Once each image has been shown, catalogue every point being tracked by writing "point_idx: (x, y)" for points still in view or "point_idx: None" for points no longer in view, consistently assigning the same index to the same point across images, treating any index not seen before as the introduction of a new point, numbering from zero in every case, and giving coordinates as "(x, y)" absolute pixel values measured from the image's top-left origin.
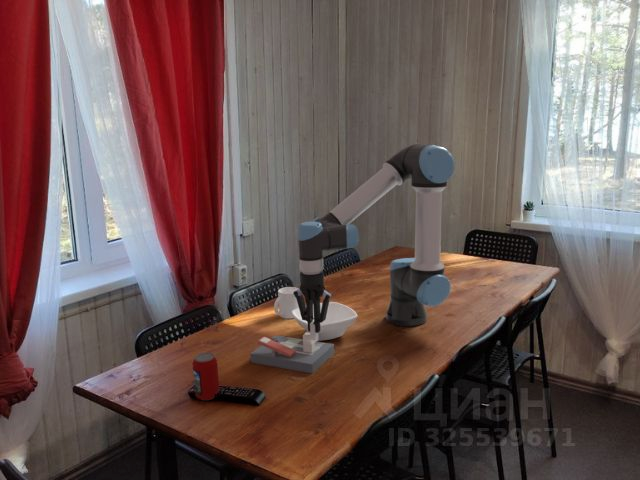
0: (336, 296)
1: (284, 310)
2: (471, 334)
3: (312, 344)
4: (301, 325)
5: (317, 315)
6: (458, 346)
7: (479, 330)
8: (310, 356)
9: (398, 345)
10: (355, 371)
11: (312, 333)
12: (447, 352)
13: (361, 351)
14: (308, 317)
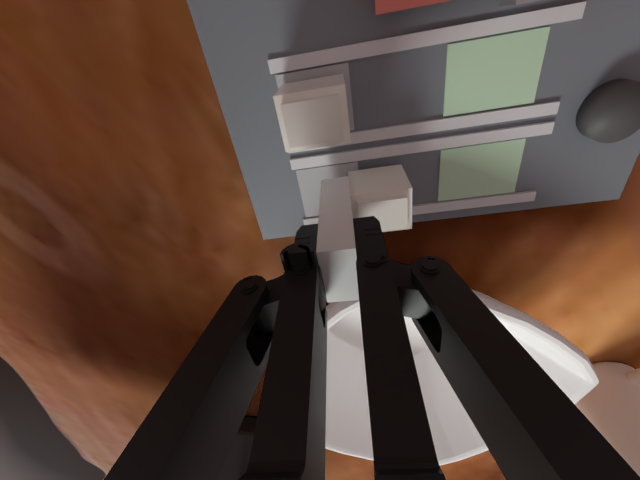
0: (484, 474)
1: (632, 391)
2: (69, 425)
3: (277, 109)
4: (487, 296)
5: (276, 323)
6: (26, 380)
7: (76, 439)
8: (262, 36)
9: (140, 339)
10: (52, 100)
11: (335, 206)
12: (7, 350)
13: (194, 267)
14: (375, 286)
